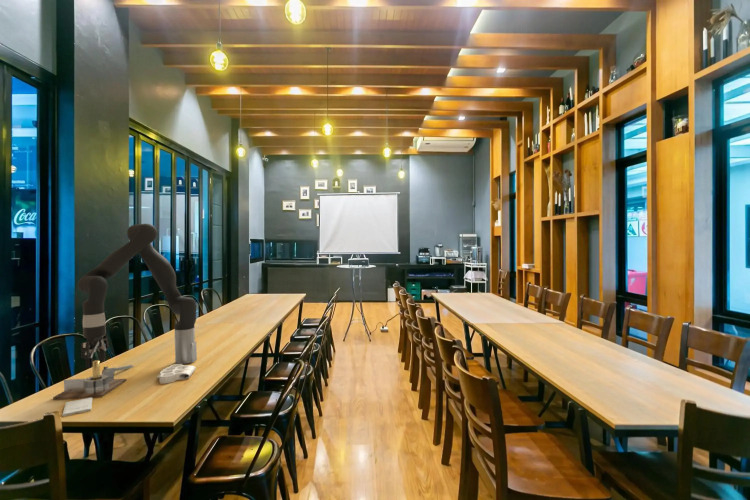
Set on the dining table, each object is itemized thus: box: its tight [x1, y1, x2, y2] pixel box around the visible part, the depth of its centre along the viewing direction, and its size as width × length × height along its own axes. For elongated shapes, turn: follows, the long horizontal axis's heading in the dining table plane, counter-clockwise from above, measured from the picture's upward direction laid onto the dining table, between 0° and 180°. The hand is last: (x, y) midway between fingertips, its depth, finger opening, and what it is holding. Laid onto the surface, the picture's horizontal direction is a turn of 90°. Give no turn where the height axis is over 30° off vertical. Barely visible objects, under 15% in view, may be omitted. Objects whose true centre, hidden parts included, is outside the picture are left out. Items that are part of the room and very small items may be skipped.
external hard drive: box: [61, 397, 93, 417], centre depth 143 cm, size 2×8×12 cm
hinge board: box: [52, 378, 127, 401], centre depth 161 cm, size 18×18×1 cm
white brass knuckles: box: [155, 363, 196, 384], centre depth 176 cm, size 3×18×15 cm
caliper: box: [101, 364, 134, 375], centre depth 181 cm, size 20×1×6 cm, turn 179°
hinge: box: [63, 369, 115, 394], centre depth 160 cm, size 16×16×5 cm
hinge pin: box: [91, 359, 101, 380], centre depth 157 cm, size 2×2×12 cm
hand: (96, 363), depth 157 cm, fingers open, 8 cm apart
